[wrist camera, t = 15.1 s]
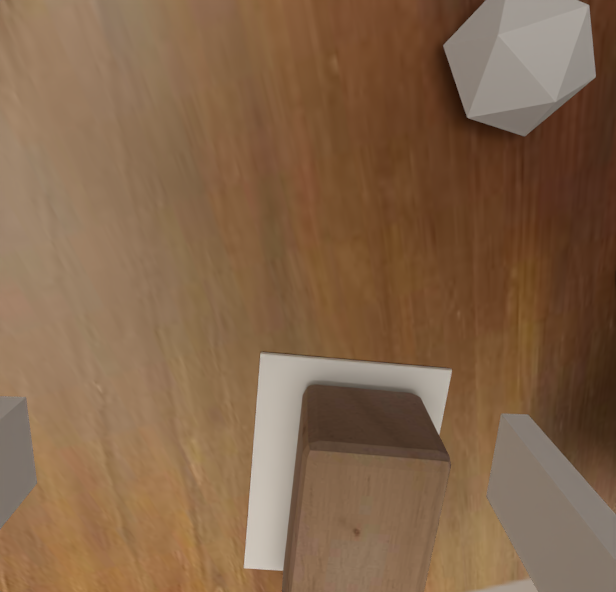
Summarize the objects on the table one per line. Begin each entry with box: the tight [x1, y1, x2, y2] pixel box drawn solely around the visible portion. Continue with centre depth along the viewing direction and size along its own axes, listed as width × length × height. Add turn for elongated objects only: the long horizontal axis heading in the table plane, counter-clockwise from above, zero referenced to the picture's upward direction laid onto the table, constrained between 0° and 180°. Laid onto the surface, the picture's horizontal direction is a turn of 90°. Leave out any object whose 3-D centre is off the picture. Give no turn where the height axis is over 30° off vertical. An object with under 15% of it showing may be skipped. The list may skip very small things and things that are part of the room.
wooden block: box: [282, 384, 451, 592], centre depth 39 cm, size 10×10×20 cm
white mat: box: [244, 352, 452, 571], centre depth 43 cm, size 16×22×1 cm
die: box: [443, 0, 596, 136], centre depth 31 cm, size 8×9×10 cm
